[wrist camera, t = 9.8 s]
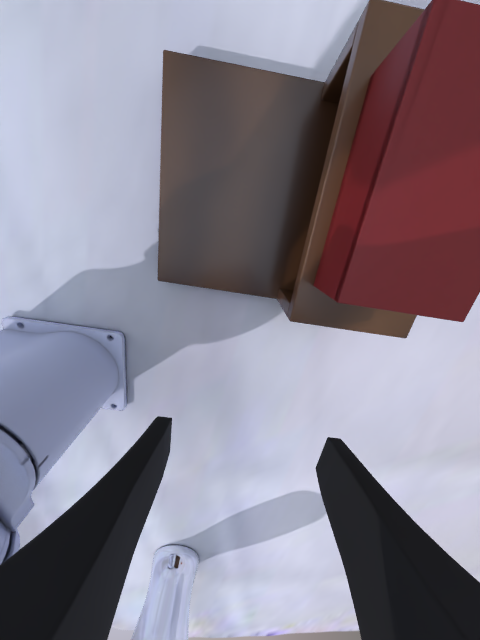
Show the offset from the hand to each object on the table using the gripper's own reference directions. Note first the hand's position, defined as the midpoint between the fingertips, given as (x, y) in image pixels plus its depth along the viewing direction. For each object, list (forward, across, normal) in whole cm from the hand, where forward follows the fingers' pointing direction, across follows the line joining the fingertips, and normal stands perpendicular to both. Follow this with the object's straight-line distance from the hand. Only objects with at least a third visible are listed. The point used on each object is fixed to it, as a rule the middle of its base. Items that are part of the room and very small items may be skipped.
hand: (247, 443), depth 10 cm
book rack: (+9, 0, -11) cm, 14 cm away
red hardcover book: (+3, -5, -11) cm, 12 cm away
